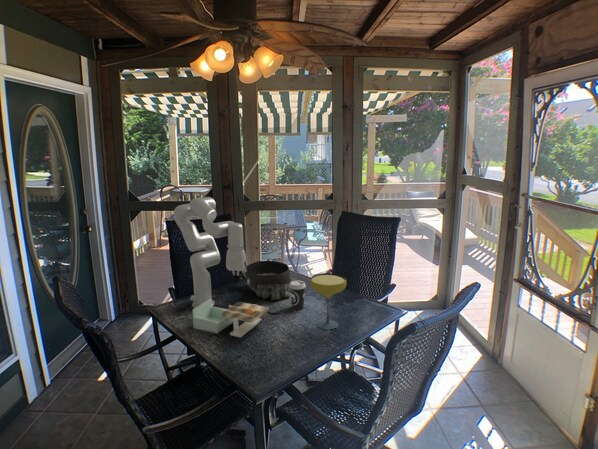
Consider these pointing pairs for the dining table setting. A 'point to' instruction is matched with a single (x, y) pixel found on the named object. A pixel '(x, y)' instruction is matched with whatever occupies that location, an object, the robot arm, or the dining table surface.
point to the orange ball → (250, 311)
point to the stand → (242, 327)
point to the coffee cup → (297, 294)
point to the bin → (210, 318)
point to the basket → (269, 279)
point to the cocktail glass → (328, 292)
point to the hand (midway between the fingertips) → (237, 282)
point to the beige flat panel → (244, 311)
